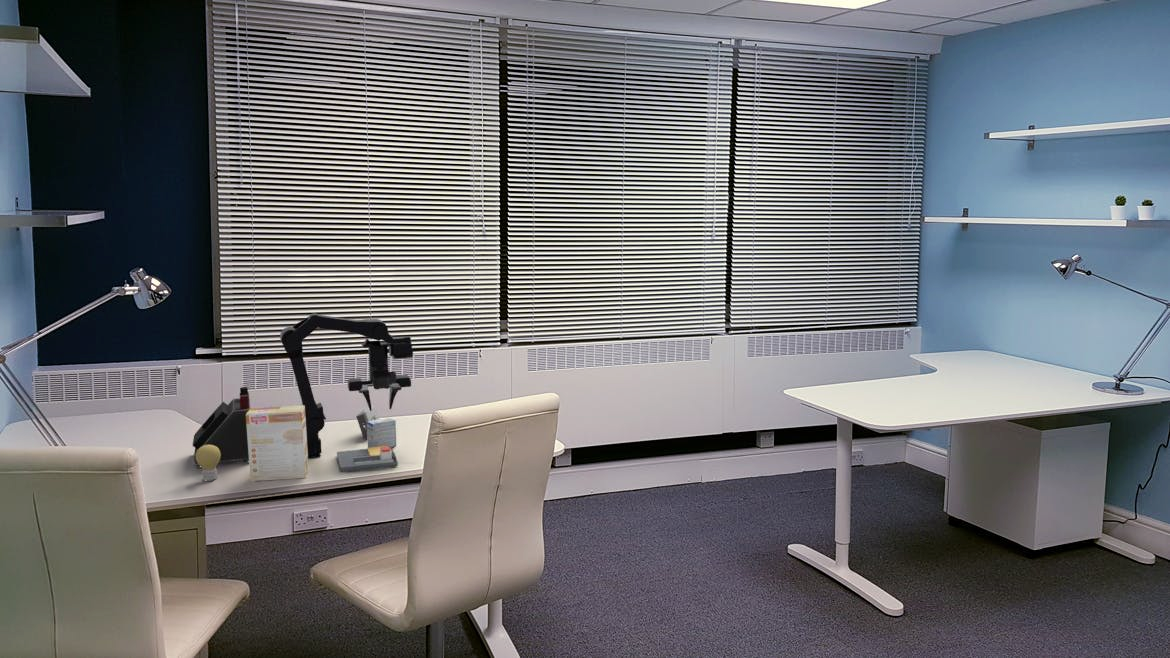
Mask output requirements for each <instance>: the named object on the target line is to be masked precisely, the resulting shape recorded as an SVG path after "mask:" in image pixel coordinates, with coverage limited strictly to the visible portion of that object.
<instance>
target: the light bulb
mask: <svg viewBox="0 0 1170 658" xmlns="http://www.w3.org/2000/svg"><path fill="white" fill-rule="evenodd" d="M220 457H221V453H220V450H219V449H218V447H216V446H214V445H204V446H202V447H200V448H199V449H198V450H197V452H196V461H197V463H198V464H197V465H198V466H199V465H200V466H201V467H200V468H202V469H201V473H202V480H203V481H205V480H212V481H215V480H216V479H218V472H217V468H216V467H217V466H218V464H219V463H220V462H219V460H220ZM214 479H215V480H214Z"/></svg>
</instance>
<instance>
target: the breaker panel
mask: <svg viewBox="0 0 1170 658" xmlns="http://www.w3.org/2000/svg"><path fill="white" fill-rule="evenodd" d="M390 449H391V452H392V459H386V460H380V455H373V456H370V455H369V452H368V449H367V448H361V449H353V450H341V451H336V457H337V459H336V460H337V461H338V465H339V471H340V473H349V472H360V470H361V471H369V470H370V471H371V470H380V469H387V468H388V467H389V468H397V467H396V466H399V461H398V459H397V456H396V454H395V452H394V451H393V449H392V447H390ZM379 468H380V469H379Z"/></svg>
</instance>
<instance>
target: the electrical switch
mask: <svg viewBox="0 0 1170 658" xmlns="http://www.w3.org/2000/svg"><path fill="white" fill-rule="evenodd" d="M371 409H372V411H370V409H369V407H368V408H367V409H365V410H362V411H361V412H360V413H358V414H356V420H357V423H358V427H359V429H360V431H361V435H362V437H363V439H367V422H369V421H373V420H378V419H380V417H379V414H378V411H377V408H376V406H375V405H371Z"/></svg>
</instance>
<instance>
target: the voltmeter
mask: <svg viewBox="0 0 1170 658" xmlns="http://www.w3.org/2000/svg"><path fill="white" fill-rule="evenodd" d="M239 389H240V390H239V398H238V397H237V398H232V400H231V401H230V402H229V403H228V404H227V403H226V402H224V401H222V402H221V403H220V404H219V405H218V407H217V408H216V409H215V410H214V411H213V412H212V413H211V415H209V417H208V418H207V419H206V420H205V422H203V424H201V426H200V427H199V428H198V430H197V431H196V432H195V433H194V434H193V440H192V447H193V448H194V452H193V462H194V465H198V467H199V466H200V465H199V464H198V463H197V461H196V452H197V450H198V449H199V448H200V447H202V446H204V445H214V446H216V447H218V449H219V450H220V453H221V457H220V460H219V462H218V463H222V462H234V461H241V462H242V461H243V462H247V461H249V454H248V439H247V425H246V413H247V412H248V411H249V410H250V408H252V407H251V397H250V393H249V391H248V390H249V389H248V387H247V386H241V387H240V388H239ZM243 462H242V463H243ZM247 463H248V462H247Z"/></svg>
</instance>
